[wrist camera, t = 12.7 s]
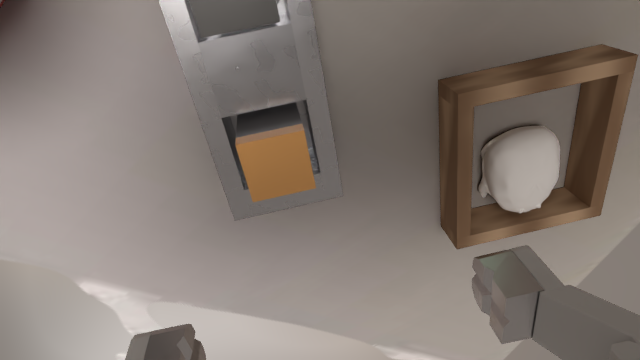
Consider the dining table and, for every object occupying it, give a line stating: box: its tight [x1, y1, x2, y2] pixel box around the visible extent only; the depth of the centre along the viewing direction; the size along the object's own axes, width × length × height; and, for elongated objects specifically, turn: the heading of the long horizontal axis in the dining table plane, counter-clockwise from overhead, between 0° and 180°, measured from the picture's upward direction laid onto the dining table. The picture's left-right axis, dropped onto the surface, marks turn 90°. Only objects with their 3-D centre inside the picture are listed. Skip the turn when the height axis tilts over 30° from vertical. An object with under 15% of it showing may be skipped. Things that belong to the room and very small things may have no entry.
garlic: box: [478, 126, 560, 213], centre depth 35 cm, size 8×7×4 cm
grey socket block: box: [159, 0, 343, 220], centre depth 27 cm, size 8×20×5 cm, turn 10°
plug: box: [235, 102, 316, 202], centre depth 27 cm, size 4×4×7 cm
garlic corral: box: [438, 44, 638, 249], centre depth 34 cm, size 13×14×4 cm
